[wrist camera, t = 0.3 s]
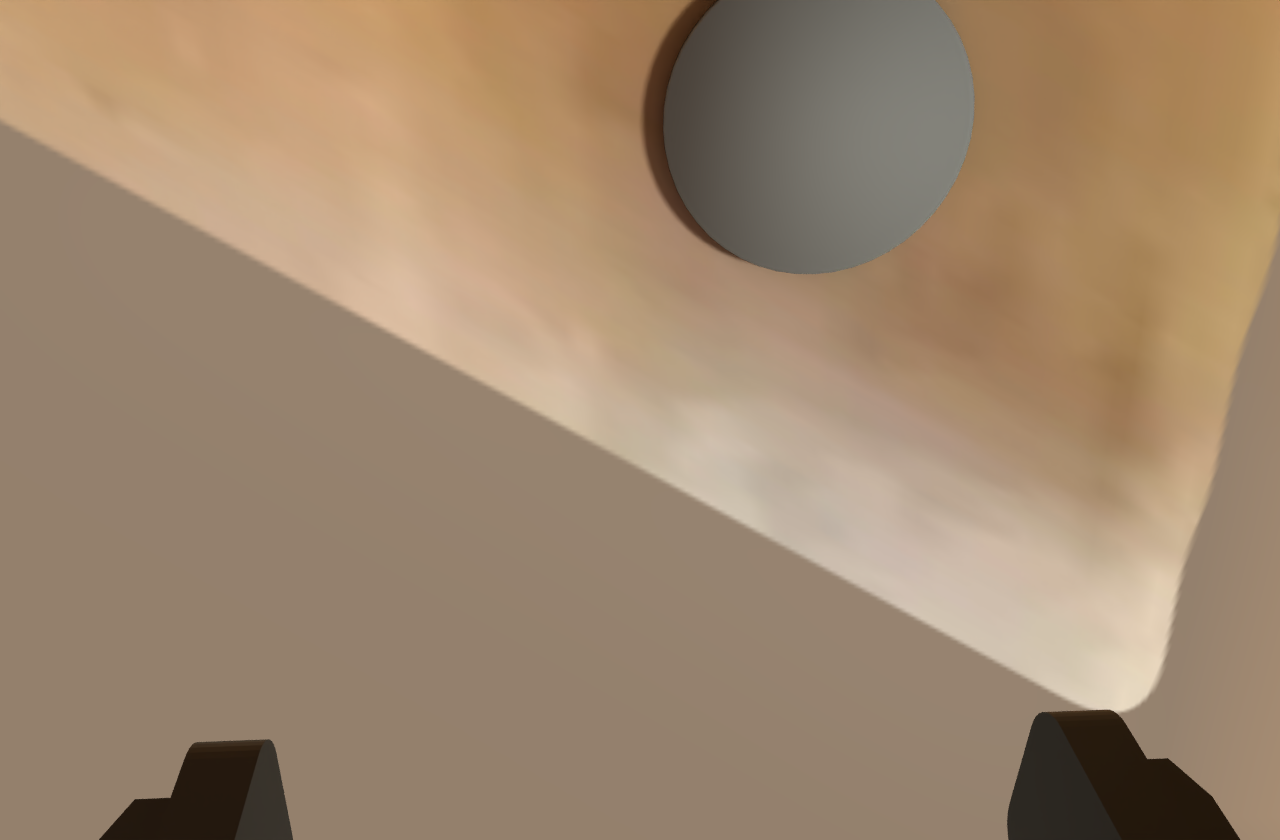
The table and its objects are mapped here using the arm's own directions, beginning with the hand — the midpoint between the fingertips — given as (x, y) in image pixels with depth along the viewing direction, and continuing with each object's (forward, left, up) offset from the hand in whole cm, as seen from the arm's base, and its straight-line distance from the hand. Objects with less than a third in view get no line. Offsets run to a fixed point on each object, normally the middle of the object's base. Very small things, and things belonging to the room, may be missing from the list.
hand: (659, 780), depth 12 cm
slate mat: (-2, +7, -28) cm, 28 cm away
